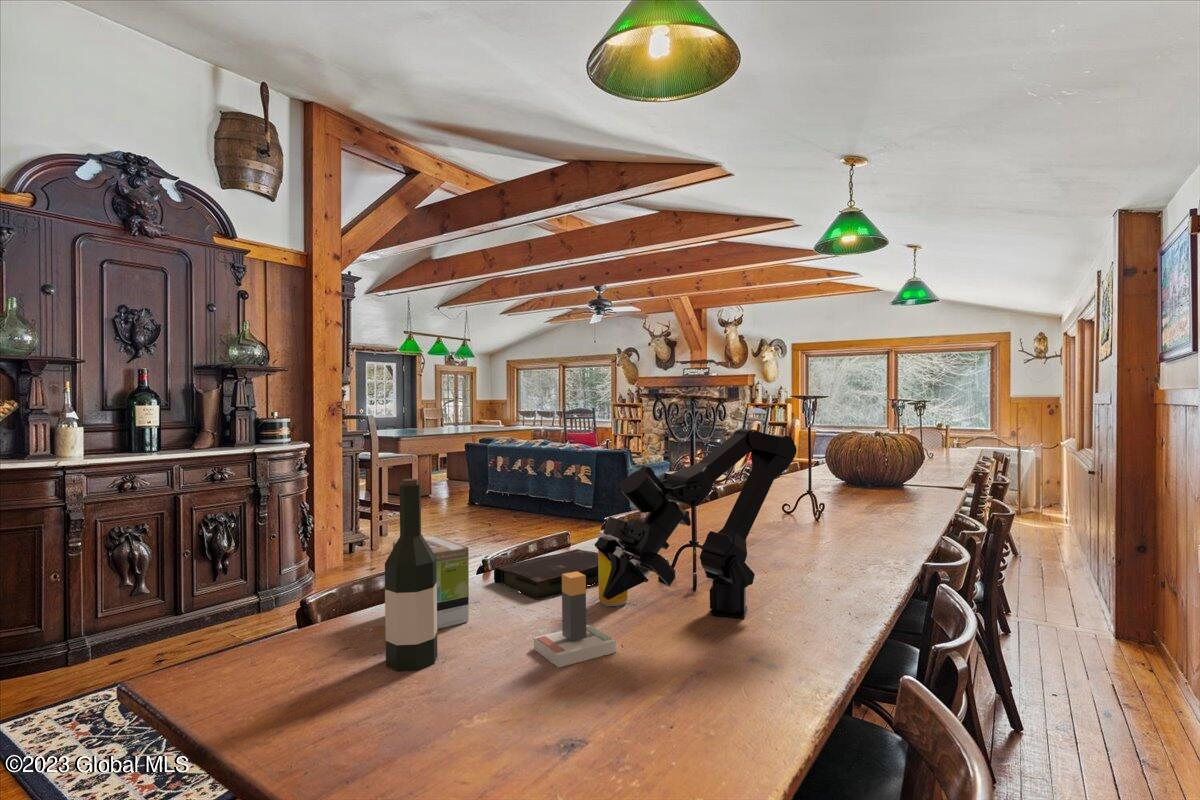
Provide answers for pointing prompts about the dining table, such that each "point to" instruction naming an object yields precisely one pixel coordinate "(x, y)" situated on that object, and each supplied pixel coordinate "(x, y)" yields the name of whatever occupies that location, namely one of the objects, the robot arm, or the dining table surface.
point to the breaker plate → (574, 647)
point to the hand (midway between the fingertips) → (605, 598)
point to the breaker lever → (574, 605)
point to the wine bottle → (410, 590)
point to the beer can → (604, 573)
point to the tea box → (450, 581)
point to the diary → (547, 572)
